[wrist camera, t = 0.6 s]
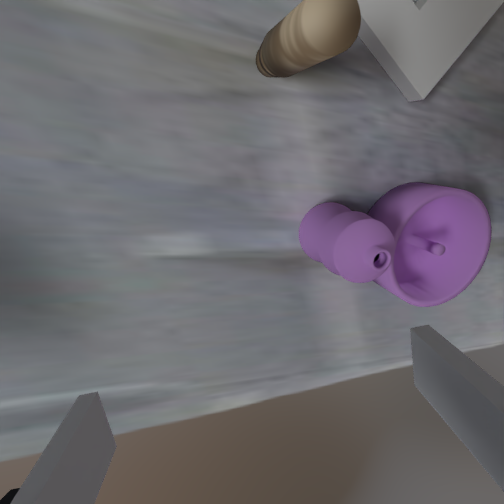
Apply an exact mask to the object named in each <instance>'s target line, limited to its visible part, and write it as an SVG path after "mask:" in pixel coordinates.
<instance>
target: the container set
mask: <svg viewBox="0 0 504 504" xmlns="http://www.w3.org/2000/svg"><path fill="white" fill-rule="evenodd" d="M299 240H300V244H301V246H302V249H303V250H304V252H305V253H306V254H307V255H308V256H309V257H310V258H312V259H314V260H315V261H318V262H321V263H323V264H324V265H325V267H326V268H327V269H328V270H330V271H331V272H333V273H335V274H337V275H340V276H342V277H343V278H345V279H346V280H348V281H351V282H357V283H364V282H369V281H372V280H373V281H374V282H376V283H377V284H379V285H380V286H382V287H383V288H385V289H387V290H388V291H390V292H391V293H393V294H394V295H396V296H398V297H399V298H401V299H402V300H404V301H406V302H407V303H409V304H412V305H415V306H420V307H430V306H436V305H439V304H442V303H445V302H447V301H449V300H451V299H452V298H454V297H456V296H457V295H458V294H460V293H461V292H462V291H463V290H465V289H466V288H467V286H468V285H469V284H470V283H471V282H472V281H473V280H474V278H475V277H476V276H477V274H478V273H479V271H480V269H481V268H482V266H483V264H484V262H485V259H486V257H487V254H488V251H489V247H490V242H491V222H490V217H489V214H488V211H487V208H486V207H485V205H484V204H483V202H482V201H481V200H480V199H479V198H478V197H477V196H476V195H474V194H473V193H471V192H469V191H466V190H463V189H457V188H451V187H445V186H438V185H432V184H426V183H420V182H415V183H407V184H403V185H400V186H397V187H396V188H394V189H392V190H390V191H388V192H387V193H386V194H385V195H383V196H382V197H381V198H380V199H379V200H378V201H377V202H376V203H375V204H374V205H373V207H372V208H371V210H370V211H369V213H368V214H365V213H362V212H358V211H351V210H350V209H349V208H347V207H346V206H344V205H342V204H339V203H334V202H328V203H323V204H319V205H317V206H315V207H313V208H312V209H311V210H310V211H309V212H308V213H307V214H306V215H305V216H304V218H303V220H302V222H301V224H300V228H299Z"/></svg>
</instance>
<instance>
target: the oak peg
mask: <svg viewBox="0 0 504 504" xmlns="http://www.w3.org/2000/svg"><path fill="white" fill-rule="evenodd" d="M360 25H361V13H360V7H359V4H358V1H357V0H303V1H302V2H301V3H300V4H299V5H298V6H297V7H296V8H294V9H293V10H292V11H291V12H290V13H289V14H288V15H287V16H286V17H285V18H283V19H282V20H281V21H280V22H279V23H278V24H277V25H276V26H275V27H273V28H272V29H271V30H270V31H269V32H268V33H267V35H266V36H265V38H264V40H263V42H262V44H261V46H260V49H259V50H258V52H257V55H256V65H257V68H258V70H259V71H260V72H261V73H262V74H263V75H264V76H266V77H289V76H291V75H294V74H296V73H298V72H300V71H303V70H305V69H307V68H309V67H311V66H314V65H316V64H318V63H320V62H322V61H325V60H327V59H329V58H331V57H334V56H336V55H338V54H340V53H342V52H344V51H346V50H347V49H348V48H350V47H351V45H352V44H353V43H354V41H355V40H356V38H357V36H358V33H359V30H360Z"/></svg>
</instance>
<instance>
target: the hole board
mask: <svg viewBox="0 0 504 504" xmlns="http://www.w3.org/2000/svg"><path fill="white" fill-rule="evenodd" d="M357 1H358V4H359V7H360V13H361V25H360V30H359V33H358V36H359V37H360V39H361V40H362V41H363V43H364V44H365V45H366V47H367V48H368V49H369V50H370V52H371V53H372V54H373V56H374V57H375V58H376V60H377V61H378V62H379V64H380V65H381V66H382V67H383V69H384V70H385V71H386V73H387V74H388V75H389V77H390V78H391V79H392V81H393V82H394V83H395V85H396V86H397V87H398V88H399V90H400V91H401V92H402V94H403V95H404V96H405V98H406V99H407V100H408V102H412V101H419V100H424V98H425V97H426V96H427V95H428V94H429V92H430V91H431V90H432V89H433V87H434V86H435V85H436V84H437V83H438V81H439V80H440V79H441V78H442V77H443V75H444V74H445V73H446V72H447V70H448V69H449V68H450V67H451V66H452V64H453V63H454V62H455V61H456V60H457V58H458V57H459V56H460V55H461V53H462V52H463V51H464V50H465V49H466V47H467V46H468V45H469V44H470V43H471V41H472V40H473V39H474V38H475V36H476V35H477V34H478V33H479V32H480V30H481V29H482V28H483V27H484V25H485V24H486V23H487V22H488V21H489V19H490V18H491V17H492V16H493V15H494V13H495V12H496V11H497V10H498V8H499V7H500V6H501V5H502V4H503V2H504V0H418V1H417V2H416V3H414V2H413V0H357Z"/></svg>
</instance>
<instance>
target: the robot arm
mask: <svg viewBox="0 0 504 504" xmlns="http://www.w3.org/2000/svg"><path fill="white" fill-rule="evenodd" d="M410 332H411V345H412V359H413V372H414V385H415V386H416V387H417V389H418V390H419V391H420V392H421V393H422V395H423V396H424V397H425V398H426V399H427V401H428V402H429V403H430V404H431V405H432V407H433V408H434V409H435V410H436V411H437V413H438V414H439V415H440V416H441V417H442V419H443V420H444V421H445V422H446V423H447V424H448V426H449V427H450V428H451V429H452V430H453V432H454V433H455V434H456V435H457V436H458V438H459V439H460V440H461V441H462V442H463V444H464V445H465V446H466V447H467V448H468V450H469V451H470V452H471V453H472V454H473V455H474V457H475V458H476V459H477V460H478V461H479V463H480V464H481V465H482V466H483V468H484V469H485V470H486V471H487V472H488V474H489V475H490V476H491V477H492V478H493V479H494V481H495V482H496V483H497V484H498V485H499V487H500V488H501V489H502V490H503V491H504V386H503V385H501V384H500V383H499V382H498V381H497V380H495V379H494V378H493V377H492V376H491V375H489V374H488V373H487V372H486V371H484V370H483V369H482V368H481V367H479V366H478V365H477V364H476V363H475V362H473V361H472V360H471V359H470V358H468V357H467V356H466V355H465V354H463V353H462V352H461V351H460V350H459V349H457V348H456V347H455V346H454V345H452V344H451V343H450V342H449V341H447V340H446V339H445V338H444V337H443V336H441V335H440V334H439V333H438V332H436V331H435V330H434V329H433V328H432V327H430V326H429V325H425V326H420V327H415V328H410ZM116 447H117V446H116V443H115V440H114V437H113V434H112V431H111V429H110V426H109V423H108V420H107V417H106V414H105V411H104V409H103V406H102V403H101V400H100V397H99V394H98V392H94V393H89V394H84V395H79V397H78V398H77V400H76V401H75V403H74V404H73V406H72V408H71V409H70V411H69V412H68V414H67V415H66V417H65V419H64V420H63V422H62V423H61V425H60V426H59V428H58V430H57V431H56V433H55V434H54V436H53V437H52V439H51V441H50V442H49V444H48V445H47V447H46V448H45V450H44V451H43V453H42V455H41V456H40V458H39V460H38V461H37V462H36V464H35V466H34V467H33V469H32V470H31V472H30V474H29V475H28V477H27V478H26V480H25V481H24V483H23V485H22V486H21V488H17V489H13V490H10V491H9V492H8V493H7V494H6V495H5V496H4V497H3V498H2V499H1V500H0V504H94V503H95V500H96V498H97V495H98V493H99V490H100V487H101V485H102V482H103V480H104V477H105V475H106V472H107V470H108V467H109V464H110V462H111V459H112V457H113V454H114V452H115V449H116Z"/></svg>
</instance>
